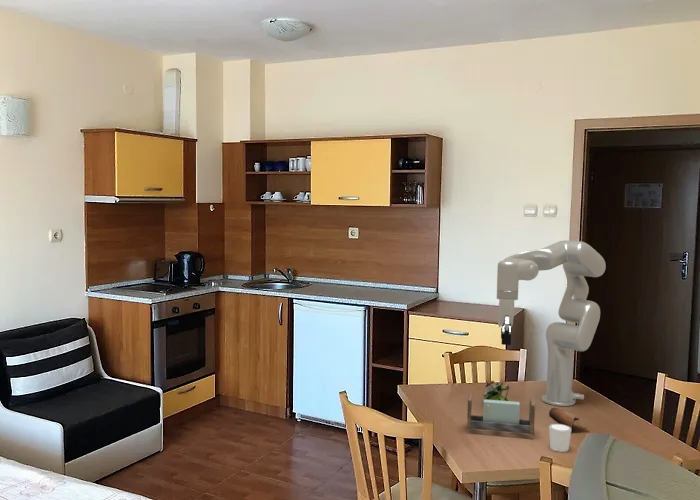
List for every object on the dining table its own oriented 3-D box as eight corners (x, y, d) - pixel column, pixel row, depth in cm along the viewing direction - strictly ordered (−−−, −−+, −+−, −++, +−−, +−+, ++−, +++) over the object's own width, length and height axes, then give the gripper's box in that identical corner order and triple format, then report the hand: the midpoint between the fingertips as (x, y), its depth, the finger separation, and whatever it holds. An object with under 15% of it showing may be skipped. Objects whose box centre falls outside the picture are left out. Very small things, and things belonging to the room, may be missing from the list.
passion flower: (488, 416, 248) (493, 387, 254) (514, 417, 241) (518, 387, 247) (475, 405, 241) (480, 376, 247) (501, 406, 234) (505, 376, 240)
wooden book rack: (532, 430, 218) (533, 398, 217) (533, 439, 210) (535, 405, 209) (467, 425, 222) (468, 393, 221) (466, 433, 215) (467, 400, 214)
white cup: (544, 444, 206) (545, 423, 205) (565, 444, 206) (566, 423, 206) (553, 452, 199) (554, 431, 198) (574, 452, 199) (575, 430, 199)
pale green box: (518, 427, 216) (519, 402, 216) (519, 431, 213) (519, 405, 212) (482, 424, 219) (483, 399, 218) (482, 428, 215) (483, 402, 215)
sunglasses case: (594, 432, 217) (585, 416, 216) (577, 443, 216) (568, 427, 216) (570, 414, 235) (561, 399, 234) (554, 424, 234) (546, 409, 233)
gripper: (496, 291, 236) (494, 336, 237) (497, 298, 219) (495, 346, 221) (516, 292, 234) (515, 337, 236) (519, 299, 218) (517, 347, 219)
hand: (505, 341), depth 228 cm, fingers open, 9 cm apart
